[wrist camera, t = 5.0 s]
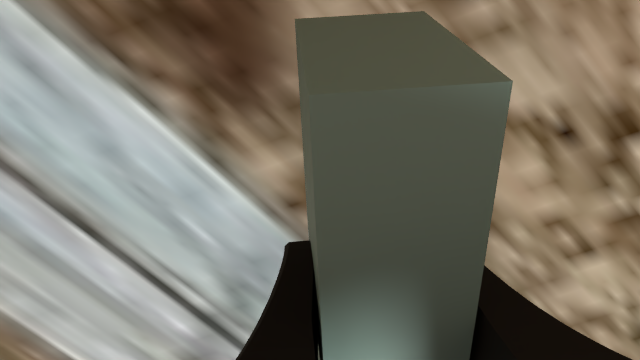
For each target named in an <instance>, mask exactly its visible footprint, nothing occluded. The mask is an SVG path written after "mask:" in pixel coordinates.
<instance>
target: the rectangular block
mask: <svg viewBox="0 0 640 360" xmlns="http://www.w3.org/2000/svg"><path fill="white" fill-rule="evenodd" d="M295 28H296V44H297V60H298V75H299V91H300V107H301V122H302V138H303V154H304V169H305V185H306V201H307V216H308V232H309V241H310V242H311V249H312V257H313V266H314V283H315V299H316V316H317V333H318V360H469V359H470V352H471V346H472V340H473V333H474V327H475V320H476V314H477V307H478V301H479V295H480V288H481V282H482V275H483V269H484V262H485V256H486V250H487V243H488V237H489V230H490V224H491V217H492V211H493V205H494V198H495V192H496V185H497V179H498V173H499V166H500V160H501V153H502V147H503V140H504V134H505V128H506V121H507V115H508V108H509V102H510V95H511V89H512V83H513V81H512V80H511V79H509V78H508V77H507V76H506V75H504V74H503V73H502V72H500V71H499V70H498V69H497V68H495V67H494V66H493V65H491V64H490V63H489V62H488V61H486V60H485V59H484V58H483V57H481V56H480V55H479V54H477V53H476V52H475V51H474V50H472V49H471V48H470V47H469V46H467V45H466V44H465V43H463V42H462V41H461V40H460V39H458V38H457V37H456V36H455V35H453V34H452V33H451V32H449V31H448V30H447V29H446V28H444V27H443V26H442V25H441V24H439V23H438V22H437V21H435V20H434V19H433V18H432V17H430V16H429V15H428V14H427V13H425V12H424V11H421V12H404V13H388V14H371V15H354V16H338V17H321V18H304V19H295Z"/></svg>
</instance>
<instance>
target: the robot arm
mask: <svg viewBox="0 0 640 360" xmlns="http://www.w3.org/2000/svg"><path fill="white" fill-rule="evenodd" d="M236 360H318V333H317V316H316V299H315V283H314V266H313V257H312V249H311V242H310V241H298V242H289V243H288V244H287V245H286V246H285V251H284V256H283V261H282V264H281V268H280V271H279V274H278V277H277V280H276V282H275V285H274V288H273V290H272V293H271V295H270V298H269V300H268V302H267V304H266V306H265V309H264V311H263V313H262V315H261V317H260V319H259V321H258V323H257V325H256V327H255V329H254V331H253V332H252V334H251V336H250V338H249V339H248V341H247V343H246V344H245V346H244V348H243V349H242V351H241V352H240V354H239V355H238V357H237V358H236ZM469 360H632V359H630V358H628V357H625V356H623V355H621V354H619V353H617V352H615V351H613V350H611V349H609V348H607V347H605V346H603V345H601V344H599V343H597V342H595V341H593V340H592V339H590V338H588V337H586V336H584V335H583V334H581V333H579V332H577V331H575V330H573V329H572V328H570V327H568V326H567V325H565V324H563V323H562V322H560V321H558V320H557V319H555V318H554V317H552V316H551V315H549V314H548V313H546V312H545V311H543V310H542V309H540V308H538V307H537V306H536V305H534V304H533V303H531V302H530V301H528V300H527V299H526V298H524V297H523V296H522V295H520V294H519V293H518V292H516V291H515V290H514V289H512V288H511V287H510V286H508V285H507V284H506V283H505V282H503V281H502V280H501V279H500V278H499V277H497V276H496V275H495V274H494V273H493V272H491V271H490V270H489V269H488V268H487V267H486V266H484V269H483V275H482V282H481V288H480V295H479V301H478V307H477V314H476V320H475V327H474V333H473V340H472V346H471V352H470V359H469Z"/></svg>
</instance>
